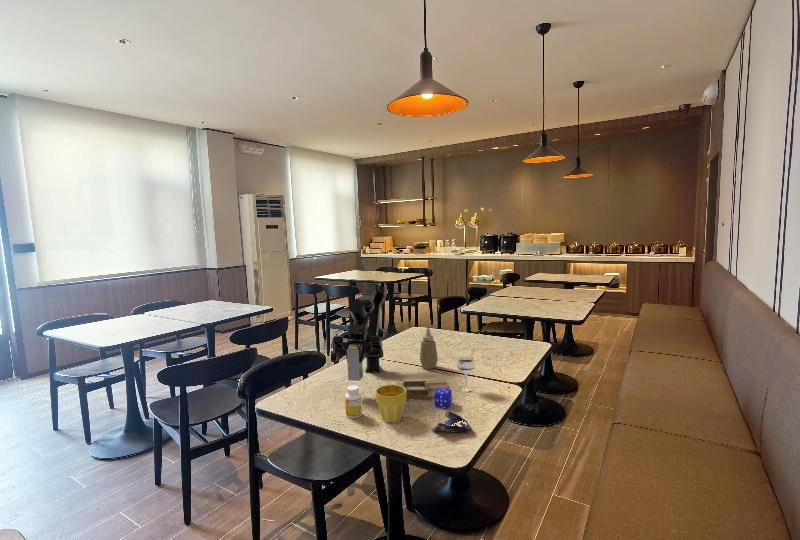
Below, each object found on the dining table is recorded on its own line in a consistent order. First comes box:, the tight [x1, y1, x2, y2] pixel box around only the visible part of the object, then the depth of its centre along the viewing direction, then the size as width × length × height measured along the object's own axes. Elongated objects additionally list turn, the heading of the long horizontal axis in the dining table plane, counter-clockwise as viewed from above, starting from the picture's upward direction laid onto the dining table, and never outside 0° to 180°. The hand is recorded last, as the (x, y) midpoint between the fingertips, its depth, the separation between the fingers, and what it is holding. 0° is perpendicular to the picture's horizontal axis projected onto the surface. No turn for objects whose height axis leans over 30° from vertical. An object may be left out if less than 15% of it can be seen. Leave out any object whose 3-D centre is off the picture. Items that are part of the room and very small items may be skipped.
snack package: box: [431, 410, 473, 433], centre depth 131 cm, size 12×6×12 cm
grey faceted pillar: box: [346, 344, 364, 382], centre depth 158 cm, size 4×4×13 cm
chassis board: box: [396, 380, 449, 401], centre depth 161 cm, size 14×20×3 cm
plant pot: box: [374, 384, 407, 423], centre depth 139 cm, size 10×10×10 cm
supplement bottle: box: [344, 385, 363, 419], centre depth 142 cm, size 5×5×10 cm
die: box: [434, 388, 453, 409], centre depth 149 cm, size 5×5×5 cm
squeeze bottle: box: [419, 327, 439, 370], centre depth 188 cm, size 8×8×18 cm
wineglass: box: [456, 356, 476, 389], centre depth 161 cm, size 7×7×12 cm
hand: (354, 362), depth 157 cm, fingers closed on grey faceted pillar, 4 cm apart
